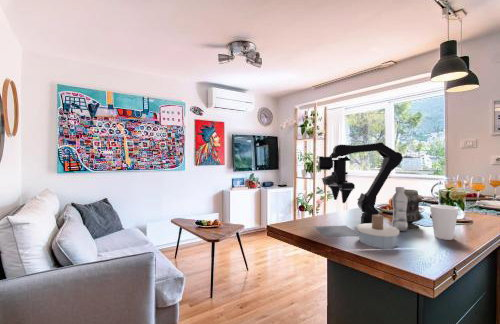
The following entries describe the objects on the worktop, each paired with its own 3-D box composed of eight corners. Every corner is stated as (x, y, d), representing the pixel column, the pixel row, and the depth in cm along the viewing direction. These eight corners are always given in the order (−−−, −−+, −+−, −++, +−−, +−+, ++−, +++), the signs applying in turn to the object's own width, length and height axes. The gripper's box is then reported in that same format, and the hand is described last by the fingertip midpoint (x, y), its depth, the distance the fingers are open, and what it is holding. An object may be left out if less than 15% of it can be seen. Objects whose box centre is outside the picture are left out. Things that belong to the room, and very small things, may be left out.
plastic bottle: (405, 229, 120) (406, 186, 120) (409, 233, 114) (409, 188, 114) (390, 228, 123) (390, 186, 122) (393, 231, 116) (393, 188, 116)
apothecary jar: (405, 222, 132) (405, 188, 132) (428, 228, 121) (428, 191, 121) (387, 224, 129) (387, 189, 128) (409, 231, 117) (409, 192, 117)
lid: (384, 225, 109) (384, 211, 109) (408, 236, 94) (408, 219, 94) (350, 226, 108) (350, 211, 108) (369, 237, 93) (369, 220, 93)
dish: (383, 237, 108) (383, 226, 108) (404, 248, 95) (404, 235, 95) (353, 238, 107) (353, 226, 107) (370, 249, 94) (370, 236, 94)
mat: (345, 226, 125) (345, 225, 125) (362, 237, 109) (362, 235, 109) (313, 227, 124) (313, 226, 124) (325, 238, 108) (325, 236, 108)
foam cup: (450, 242, 102) (450, 209, 102) (425, 236, 110) (425, 206, 110) (462, 238, 106) (462, 207, 106) (437, 233, 114) (437, 204, 114)
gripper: (317, 169, 135) (316, 198, 136) (332, 171, 117) (331, 205, 117) (337, 169, 136) (337, 198, 137) (355, 171, 118) (355, 204, 118)
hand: (339, 201), depth 127 cm, fingers open, 9 cm apart
